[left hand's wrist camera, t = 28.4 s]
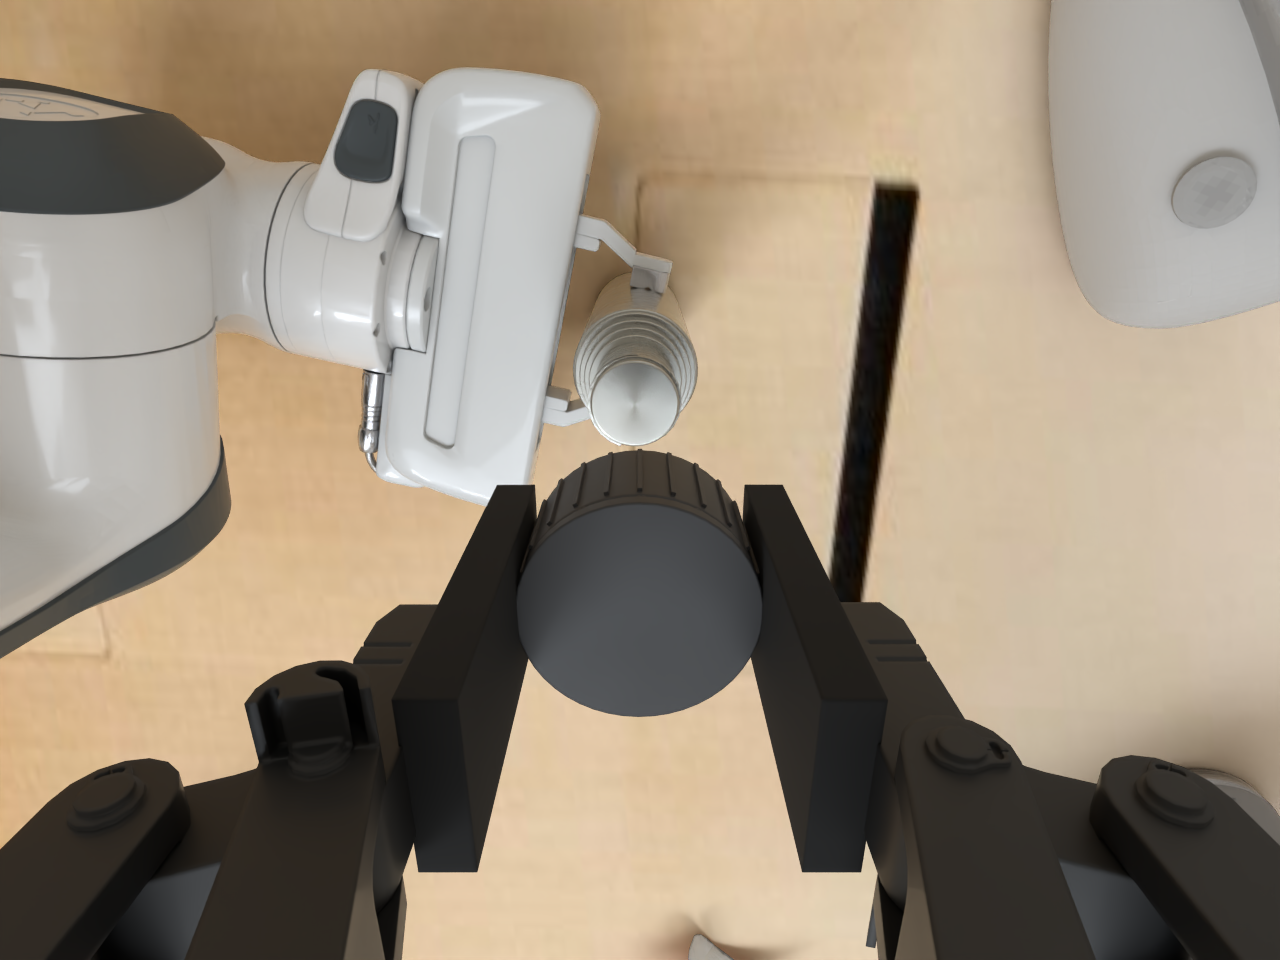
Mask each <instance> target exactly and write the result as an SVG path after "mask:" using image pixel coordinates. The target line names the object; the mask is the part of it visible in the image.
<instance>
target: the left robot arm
mask: <svg viewBox="0 0 1280 960" xmlns="http://www.w3.org/2000/svg"><path fill="white" fill-rule="evenodd" d="M536 521H537V513H536V496H535V485H497V486H496V488H495V490H494V492H493V494H492V496H491V498H490V500H489V502H488V504H487V506H486V508H485V510H484V512H483V514H482V516H481V518H480V520H479V522H478V524H477V526H476V529H475V531H474V533H473V535H472V537H471V539H470V541H469V543H468V545H467V547H466V549H465V551H464V553H463V555H462V557H461V559H460V561H459V563H458V565H457V567H456V569H455V571H454V573H453V575H452V577H451V579H450V581H449V583H448V585H447V588H446V590H445V592H444V594H443V596H442V598H441V600H440V602H439V604H438V605H399V606H397V607H396V608H395V609H393V610H392V611H391V612H389V613H388V614H387V615H385V616H384V617H383V618H381V619H380V620H379V621H377V622H376V624H375V625H374V627H373V629H372V630H371V632H370V633H369V635H368V637H367V638H366V640H365V642H364V647H361V648H360V650H359V651H358V653H357V655H356V656H355V658H354V659H353V664H352V663H348V662H345V661H317V662H312V663H308V664H303V665H298V666H295V667H293V668H291V669H288V670H286V671H284V672H281V673H279V674H277V675H274V676H273V677H271V678H270V679H269V680H267V681H266V682H264V683H263V684H262V685H260V686H259V687H257V688H256V689H255V690H254V692H253V693H252V694H251V696H250V697H249V698H248V700H247V701H246V702H245V708H246V712H247V716H248V720H249V724H250V728H251V732H252V736H253V740H254V744H255V748H256V752H257V756H258V760H259V764H258V767H257V768H256V769H254V770H250V771H247V772H244V773H240V774H237V775H233V776H229V777H225V778H220V779H216V780H212V781H207V782H203V783H199V784H194V785H190V786H186V787H183V784H182V781H181V778H180V775H179V772H178V771H177V770H176V769H175V768H174V767H173V766H172V765H171V764H170V763H169V762H166V761H161V760H155V759H150V758H148V759H139V760H130V761H124V762H121V763H118V764H114V765H111V766H108V767H105V768H102V769H99V770H97V771H95V772H93V773H91V774H89V775H87V776H85V777H83V778H82V779H80V780H78V781H76V782H74V783H72V784H70V785H69V786H68V787H67V788H65V789H64V790H63V791H62V792H60V793H59V794H58V795H56V796H55V797H54V798H53V799H51V800H50V801H49V802H48V803H47V804H46V805H45V806H44V807H43V808H42V809H41V810H40V811H39V812H38V813H37V814H36V815H35V816H34V817H33V818H32V819H31V820H30V821H29V822H28V823H27V824H26V825H24V826H23V827H22V828H21V829H20V830H19V831H18V832H17V833H16V834H15V835H14V836H13V837H12V838H11V839H10V840H9V841H8V842H7V843H6V844H5V845H4V846H3V847H2V848H1V849H0V960H402V950H403V940H404V929H405V919H406V908H407V901H406V894H405V887H404V881H403V872H404V869H405V866H406V863H407V860H408V857H409V855H410V852H411V849H412V846H413V843H414V847H415V853H416V860H417V866H418V872H477V871H478V867H479V863H480V859H481V854H482V850H483V846H484V842H485V838H486V834H487V829H488V825H489V821H490V817H491V813H492V809H493V804H494V800H495V796H496V792H497V788H498V783H499V779H500V775H501V771H502V767H503V763H504V758H505V754H506V750H507V746H508V742H509V738H510V733H511V729H512V725H513V721H514V717H515V712H516V708H517V704H518V700H519V696H520V692H521V687H522V683H523V679H524V675H525V671H526V667H527V662H528V657H527V655H526V653H525V651H524V648H523V646H522V644H521V642H520V638H519V629H518V615H517V601H516V591H517V586H518V583H519V580H520V569H521V566H522V563H523V560H524V557H525V554H526V551H527V547H528V544H529V541H530V538H531V535H532V532H533V529H534V525H535V524H536ZM743 525H745V528H746V531H747V534H748V537H749V541H750V544H751V547H752V550H753V553H754V556H755V560H756V563H757V566H758V569H759V572H760V576H759V577H758V579H759V582H760V586H761V589H762V596H763V608H762V622H761V633H760V636H759V639H758V642H757V645H756V647H755V649H754V651H753V653H752V655H751V660H752V664H753V668H754V673H755V677H756V681H757V685H758V689H759V693H760V698H761V702H762V706H763V710H764V714H765V719H766V723H767V727H768V731H769V735H770V739H771V744H772V748H773V752H774V756H775V760H776V764H777V769H778V773H779V777H780V781H781V785H782V790H783V794H784V798H785V802H786V806H787V810H788V815H789V819H790V823H791V827H792V831H793V835H794V840H795V844H796V848H797V852H798V856H799V861H800V865H801V869H802V872H861V869H862V863H863V857H864V850H865V844H866V841H867V844H868V847H869V849H870V852H871V855H872V858H873V861H874V864H875V867H876V869H877V872H878V875H877V881H876V887H875V893H874V899H873V905H872V910H871V916H870V922H869V928H868V935H867V942H866V946H867V947H872V948H875V946H876V941H877V949H878V959H879V960H1280V816H1279V815H1278V814H1277V812H1276V810H1275V809H1274V808H1273V807H1272V806H1271V804H1270V803H1269V802H1267V801H1266V800H1265V799H1264V798H1263V797H1262V796H1261V795H1260V794H1259V793H1258V792H1257V791H1256V790H1255V789H1254V788H1253V787H1252V786H1250V785H1249V784H1248V783H1246V782H1245V781H1243V780H1241V779H1239V778H1237V777H1235V776H1233V775H1230V774H1227V773H1223V772H1219V771H1214V770H1205V769H1186V768H1184V767H1182V766H1179V765H1176V764H1173V763H1169V762H1166V761H1163V760H1160V759H1157V758H1151V757H1142V756H1133V755H1130V756H1125V757H1119V758H1114V759H1112V760H1111V761H1109V762H1108V763H1107V764H1106V765H1105V766H1104V767H1103V768H1102V769H1101V773H1100V776H1099V779H1098V782H1097V784H1094V783H1090V782H1085V781H1081V780H1077V779H1072V778H1068V777H1064V776H1059V775H1055V774H1050V773H1046V772H1043V771H1039V770H1036V769H1033V768H1029V767H1026V766H1024V765H1022V763H1021V761H1020V759H1019V758H1018V756H1017V755H1016V753H1015V751H1014V750H1013V748H1012V747H1011V745H1009V744H1008V743H1007V742H1006V741H1004V740H1003V739H1002V738H1001V737H1000V736H998V735H997V734H996V733H995V732H993V731H991V730H989V729H987V728H985V727H983V726H981V725H979V724H977V723H975V722H973V721H970V720H966V719H965V718H964V717H963V715H962V714H961V712H960V710H959V709H958V707H957V705H956V704H955V702H954V701H953V699H952V697H951V696H950V694H949V693H948V691H947V689H946V688H945V686H944V685H943V683H942V681H941V680H940V678H939V676H938V675H937V673H936V672H935V670H934V668H933V667H932V665H931V664H930V662H927V659H926V658H927V657H926V655H925V654H924V652H923V651H922V649H921V647H920V646H919V644H916V639H915V638H914V636H913V635H912V633H911V631H910V630H909V628H908V626H907V625H906V623H905V622H904V620H903V619H902V618H900V617H899V616H898V615H896V614H895V613H893V612H892V611H891V610H889V609H888V608H887V607H885V606H884V605H883V604H881V603H880V602H840V601H839V599H838V597H837V595H836V593H835V591H834V589H833V586H832V584H831V582H830V580H829V578H828V576H827V574H826V572H825V570H824V568H823V566H822V564H821V562H820V560H819V558H818V556H817V554H816V552H815V550H814V548H813V546H812V544H811V542H810V540H809V538H808V536H807V534H806V532H805V530H804V527H803V525H802V523H801V521H800V519H799V517H798V515H797V513H796V511H795V509H794V507H793V505H792V503H791V501H790V499H789V497H788V495H787V493H786V491H785V489H784V487H783V485H745V488H744V505H743Z"/></svg>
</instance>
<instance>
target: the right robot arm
mask: <svg viewBox="0 0 1280 960" xmlns="http://www.w3.org/2000/svg"><path fill="white" fill-rule="evenodd" d="M600 117H601V115H600V110H599V108H598V105H597V103H596V102H595V100H594V98H593V97H592V95H591V94H590V93H589V91H588V90H587V89H586V88H585V87H584V86H582V85H581V84H579V83H576V82H573V81H569V80H565V79H561V78H557V77H551V76H546V75H541V74H535V73H528V72H522V71H513V70H505V69H493V68H476V67H462V68H453V69H449V70H445V71H442V72H440V73H438V74H436V75H434V76H433V77H431V78H430V79H429V80H428V81H427V82H426V83H425V84H423V83H422V82H420V81H418V80H416V79H414V78H412V77H410V76H407V75H405V74H401V73H398V72H394V71H390V70H383V69H367V70H364V71H362V72H361V73H360V74H359V75H358V76H357V78H356V79H355V81H354V83H353V85H352V87H351V90H350V92H349V95H348V98H347V100H346V103H345V105H344V108H343V111H342V113H341V116H340V119H339V121H338V124H337V126H336V129H335V131H334V134H333V136H332V139H331V141H330V144H329V146H328V149H327V151H326V154H325V156H324V158H323V161H322V163H321V164H316V163H312V162H305V161H293V162H269V161H265V160H261V159H258V158H255V157H253V156H251V155H249V154H247V153H245V152H243V151H241V150H240V149H238V148H236V147H234V146H232V145H230V144H228V143H225V142H223V141H220V140H216V139H212V138H208V137H204V136H199V135H198V134H197V133H196V132H194V131H193V130H192V129H191V128H189V127H188V126H187V125H186V124H184V123H183V122H182V121H181V120H179V119H178V118H177V117H176V116H174V115H173V114H169V113H164V112H160V111H156V110H152V109H147V108H143V107H139V106H135V105H131V104H127V103H123V102H118V101H114V100H110V99H106V98H102V97H98V96H94V95H90V94H86V93H82V92H78V91H74V90H70V89H65V88H61V87H56V86H51V85H46V84H40V83H35V82H29V81H21V80H14V79H4V78H0V658H2V657H4V656H5V655H7V654H9V653H10V652H12V651H14V650H15V649H17V648H19V647H20V646H22V645H24V644H25V643H27V642H29V641H30V640H32V639H34V638H35V637H37V636H39V635H40V634H42V633H44V632H45V631H47V630H49V629H50V628H52V627H54V626H56V625H57V624H59V623H61V622H63V621H64V620H66V619H68V618H70V617H72V616H74V615H75V614H77V613H80V612H82V611H84V610H86V609H88V608H91V607H93V606H96V605H98V604H101V603H104V602H106V601H109V600H112V599H114V598H117V597H120V596H122V595H125V594H127V593H130V592H132V591H135V590H138V589H140V588H142V587H145V586H147V585H149V584H151V583H153V582H156V581H157V580H159V579H161V578H163V577H165V576H167V575H169V574H171V573H172V572H174V571H175V570H177V569H179V568H180V567H182V566H183V565H184V564H186V563H187V562H189V561H190V560H191V559H192V558H194V557H195V556H196V555H197V554H198V553H199V552H200V551H202V550H203V549H204V548H205V547H206V546H207V545H208V544H209V543H210V542H211V541H212V540H213V539H214V538H215V537H216V536H217V535H218V533H219V532H220V531H221V530H222V528H223V526H224V525H225V523H226V521H227V519H228V517H229V514H230V510H231V496H230V489H229V482H228V475H227V468H226V461H225V453H224V446H223V441H222V438H221V435H220V425H219V399H218V374H217V348H216V334H222V333H237V334H244V335H248V336H251V337H254V338H257V339H259V340H262V341H263V342H265V343H267V344H269V345H271V346H273V347H275V348H277V349H279V350H282V351H284V352H288V353H292V354H296V355H301V356H306V357H310V358H315V359H319V360H324V361H329V362H333V363H338V364H342V365H347V366H352V367H356V368H361V369H363V370H364V371H363V382H362V394H361V402H362V418H361V425H360V426H359V430H358V446H359V449H360V451H362V452H365V456H366V459H367V462H368V464H369V466H370V467H371V469H372V470H373V471H374V472H375V473H376V474H377V476H378V477H379V478H381V479H383V480H385V481H387V482H391V483H395V484H400V485H405V486H410V487H428V488H430V489H433V490H435V491H438V492H441V493H444V494H446V495H449V496H452V497H455V498H458V499H461V500H464V501H468V502H471V503H475V504H478V505H482V506H487V504H488V502H489V500H490V498H491V496H492V494H493V492H494V490H495V488H496V486H497V485H532V482H533V479H534V474H535V469H536V463H537V458H538V452H539V447H540V442H541V436H542V431H543V426H544V423H548V424H552V425H557V426H562V427H565V426H568V425H571V424H575V423H578V422H581V421H584V420H587V419H591V417H590V415H589V410H588V409H587V407H586V406H585V405H584V403H583V402H582V400H581V398H580V399H577V400H573V401H570V399H571V394H572V392H571V391H570V390H568V389H564V388H560V387H555V386H551V382H552V377H553V372H554V366H555V361H556V356H557V350H558V345H559V339H560V334H561V329H562V323H563V318H564V312H565V307H566V302H567V296H568V291H569V286H570V280H571V275H572V269H573V264H574V259H575V253H576V248H581V249H586V250H590V251H595V252H596V251H597V250H598V249H599V248H600V246H601V242H602V241H603V242H605V243H606V244H607V245H608V246H609V247H610V248H611V249H612V250H613V251H614V252H615V253H616V254H617V255H618V256H620V257H621V258H622V259H623V260H624V261H625V262H626V263H627V264H628V265H629V266H630V267H631V268H632V267H633V269H632V274H631V279H630V285H629V286H632V287H636V288H642V289H644V288H647V287H649V288H650V289H651V290H652V291H654V292H658V293H666V289H667V285H668V281H669V277H670V272H671V268H672V264H673V262H672V261H671V260H668V259H665V258H661V257H657V256H652V255H648V254H644V253H640V252H636V248H635V247H634V246H633V245H632V244H631V243H630V242H629V241H628V240H627V239H626V238H625V237H624V236H622V235H621V234H620V233H619V232H618V231H617V230H616V229H615V228H614V227H613V226H612V225H611V224H610V223H609V222H608V221H607V220H605V219H601V218H597V217H592V216H588V215H584V214H583V210H584V205H585V199H586V194H587V189H588V183H589V178H590V172H591V167H592V162H593V156H594V151H595V145H596V140H597V135H598V129H599V124H600ZM377 451H378V453H377V462H376V460H375V458H374V455H373V453H375V452H377Z"/></svg>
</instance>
